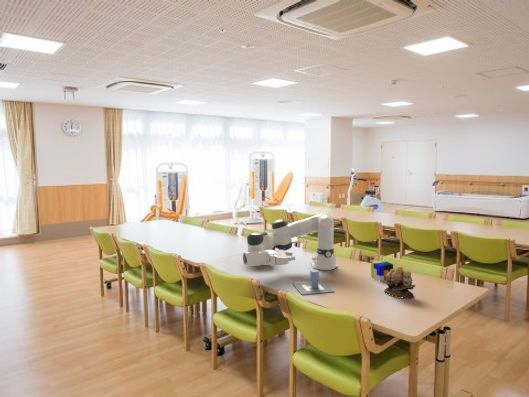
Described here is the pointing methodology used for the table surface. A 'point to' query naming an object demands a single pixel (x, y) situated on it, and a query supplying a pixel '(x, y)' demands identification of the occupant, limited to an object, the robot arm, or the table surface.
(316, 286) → the blue block
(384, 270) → the puzzle toy
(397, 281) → the owl figurine
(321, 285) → the letter board
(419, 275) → the table surface
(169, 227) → the table surface
